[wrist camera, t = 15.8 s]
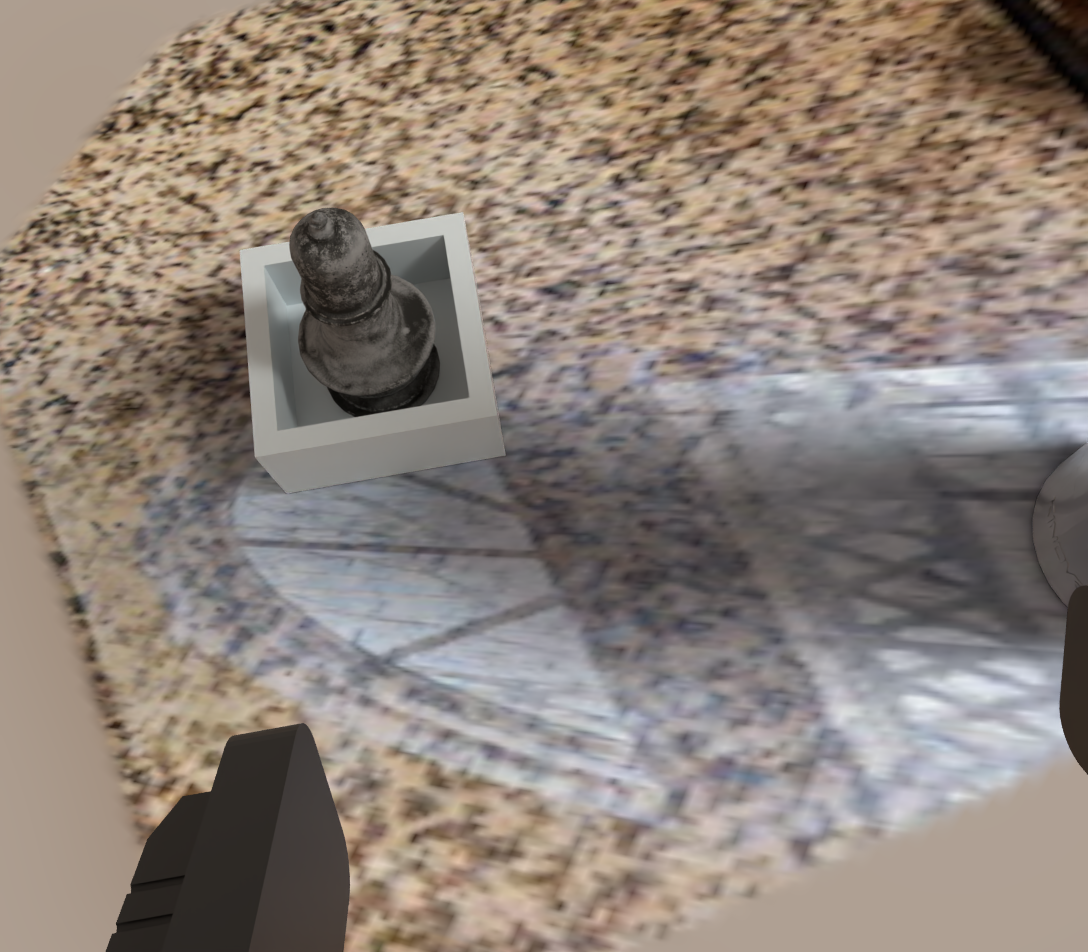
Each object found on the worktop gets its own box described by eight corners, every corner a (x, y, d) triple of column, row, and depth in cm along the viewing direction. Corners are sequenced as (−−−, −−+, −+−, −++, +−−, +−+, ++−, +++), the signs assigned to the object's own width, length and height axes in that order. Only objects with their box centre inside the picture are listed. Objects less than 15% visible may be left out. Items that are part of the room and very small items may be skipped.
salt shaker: (292, 379, 45) (194, 227, 34) (377, 290, 47) (311, 116, 35) (387, 452, 44) (319, 319, 32) (473, 358, 45) (435, 199, 34)
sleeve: (474, 267, 48) (463, 212, 44) (505, 455, 44) (497, 415, 40) (270, 302, 48) (239, 250, 44) (286, 493, 44) (254, 457, 40)
